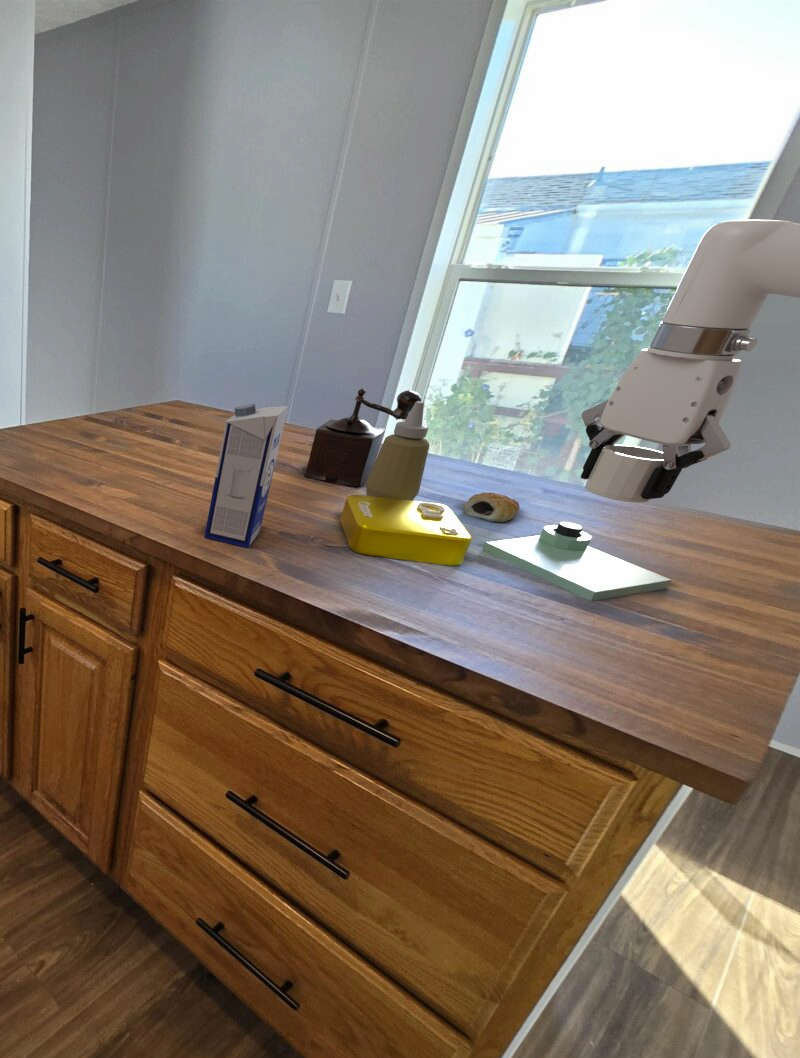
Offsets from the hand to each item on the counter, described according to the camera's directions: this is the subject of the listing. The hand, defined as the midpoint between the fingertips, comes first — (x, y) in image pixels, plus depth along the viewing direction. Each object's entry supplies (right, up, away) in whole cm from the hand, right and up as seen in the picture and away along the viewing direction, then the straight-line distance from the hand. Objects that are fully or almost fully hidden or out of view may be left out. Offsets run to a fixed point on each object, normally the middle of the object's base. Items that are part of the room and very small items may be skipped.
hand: (620, 486), depth 85 cm
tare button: (+4, -5, +12) cm, 14 cm away
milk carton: (-45, -5, +17) cm, 48 cm away
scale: (+1, -10, +9) cm, 13 cm away
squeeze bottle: (-14, +1, +28) cm, 32 cm away
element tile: (-19, -6, +16) cm, 26 cm away
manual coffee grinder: (-13, +8, +41) cm, 44 cm away
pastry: (+2, -1, +26) cm, 26 cm away
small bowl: (0, -1, 0) cm, 1 cm away
